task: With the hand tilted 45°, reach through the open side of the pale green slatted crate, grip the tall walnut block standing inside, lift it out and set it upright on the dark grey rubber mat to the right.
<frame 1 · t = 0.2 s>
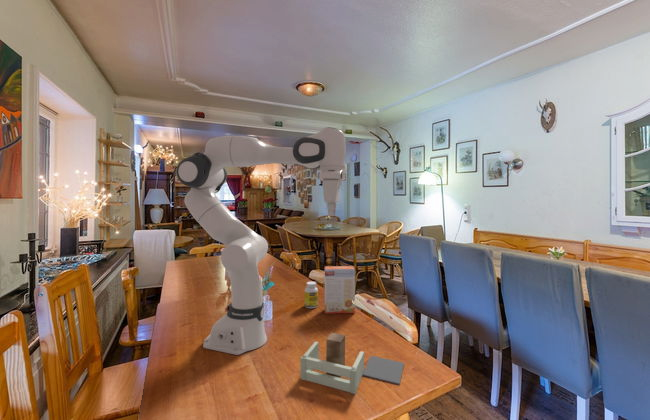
hand: (331, 215, 100), 47 cm above the table, tool pointing down, fingers open, 8 cm apart
walnut block: (335, 354, 89), in the crate
pill bottle: (311, 306, 140), on the table
crate: (335, 371, 89), on the table
cracker box: (339, 311, 135), on the table
mat: (384, 369, 90), on the table
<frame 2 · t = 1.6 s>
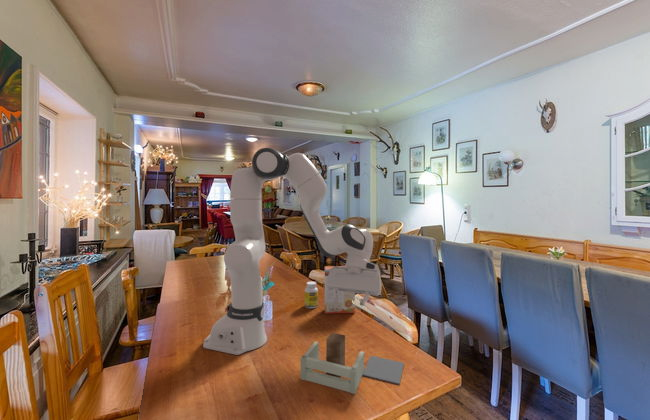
hand: (348, 303, 99), 17 cm above the table, tool tilted 45°, fingers open, 8 cm apart
nothing on the table moved.
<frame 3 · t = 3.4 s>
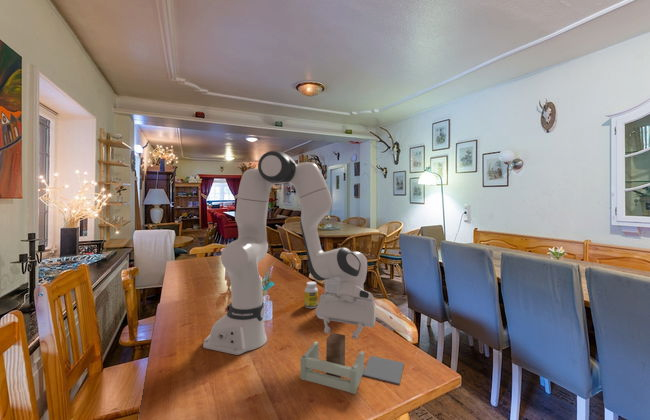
hand: (340, 335, 92), 10 cm above the table, tool tilted 45°, fingers open, 8 cm apart
nothing on the table moved.
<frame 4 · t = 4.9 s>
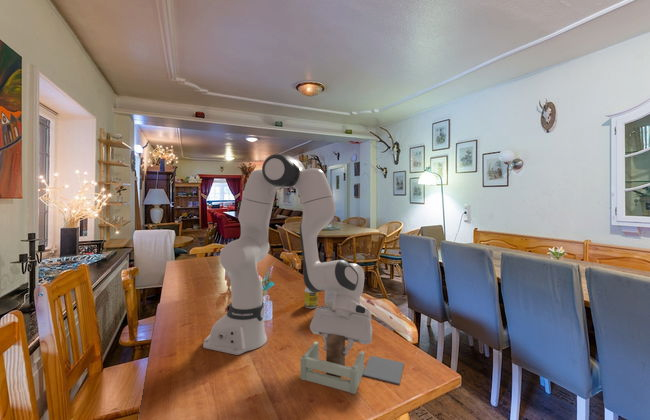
hand: (335, 352, 88), 6 cm above the table, tool tilted 45°, fingers closed on walnut block, 4 cm apart
walnut block: (335, 354, 89), in the crate, touching gripper
everything else where it was.
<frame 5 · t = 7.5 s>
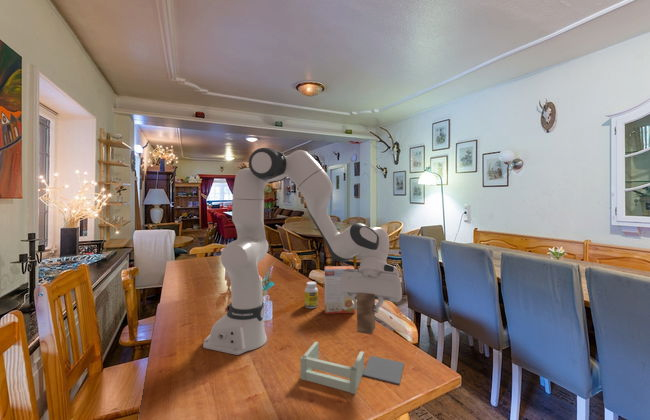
hand: (365, 310, 88), 19 cm above the table, tool tilted 45°, fingers closed on walnut block, 4 cm apart
walnut block: (366, 312, 88), point 19 cm above the table, touching gripper
everything else where it was.
when the fingers open (8 cm above the table, at t = 10.3 s): walnut block drops 1 cm, resting on mat.
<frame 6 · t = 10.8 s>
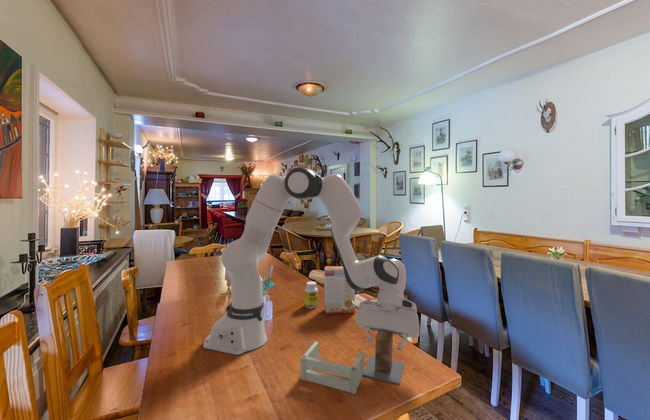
hand: (384, 346, 89), 8 cm above the table, tool tilted 45°, fingers open, 8 cm apart
walnut block: (384, 351, 90), on the mat
everything else where it was.
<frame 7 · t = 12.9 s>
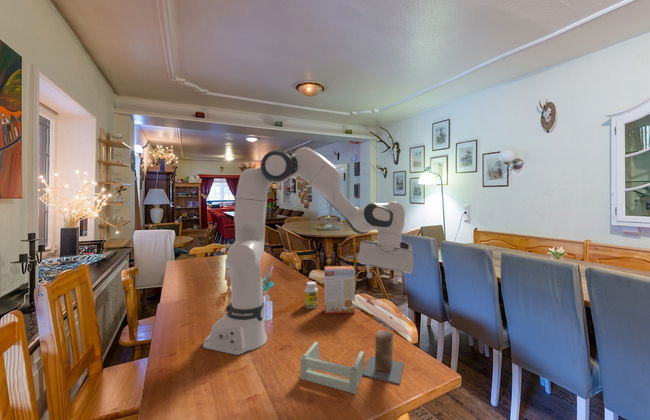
hand: (381, 280, 104), 24 cm above the table, tool tilted 25°, fingers open, 8 cm apart
nothing on the table moved.
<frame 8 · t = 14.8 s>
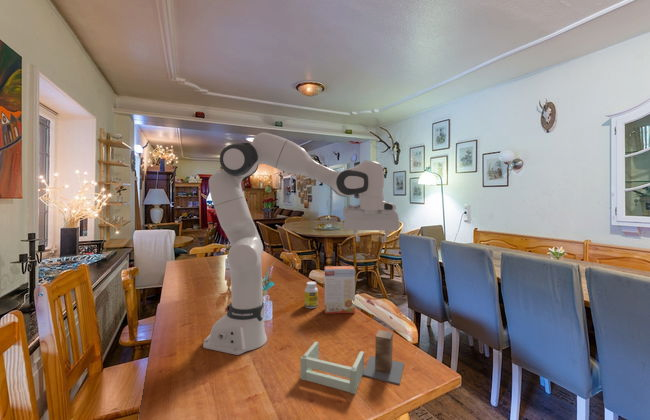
hand: (370, 242, 107), 37 cm above the table, tool pointing down, fingers open, 8 cm apart
nothing on the table moved.
at the end: walnut block inside the target area on the mat (0.1 cm from its centre), point 5.9 cm above the mat's base; walnut block tilted 0°; the gripper is holding nothing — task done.
